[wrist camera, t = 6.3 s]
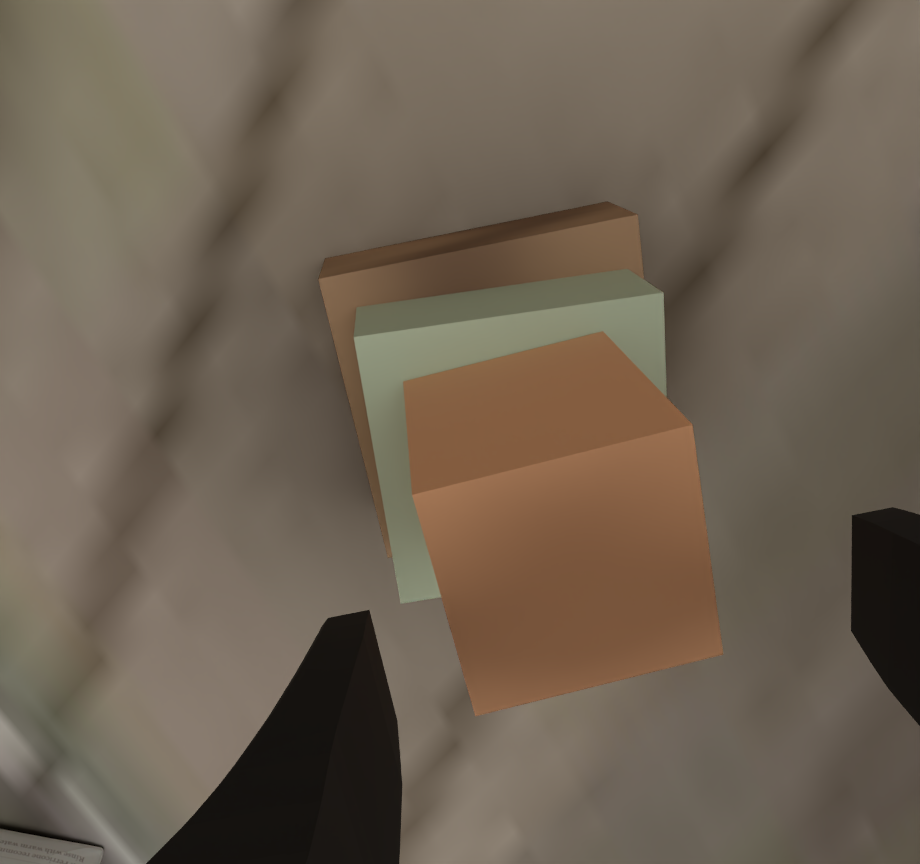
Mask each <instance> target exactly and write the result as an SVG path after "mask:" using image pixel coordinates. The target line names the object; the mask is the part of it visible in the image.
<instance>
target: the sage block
mask: <svg viewBox="0 0 920 864" xmlns="http://www.w3.org/2000/svg"><path fill="white" fill-rule="evenodd" d="M602 331H603V332H604V333H605V334H606V335H607V336H608V337H609V338H610V339H611V340H612V341H613V342H614V343H615V344H616V345H617V346H618V347H619V348H620V349H621V350H622V351H623V353H624V354H625V355H626V356H627V357H628V358H629V359H630V360H631V361H632V362H633V363H634V364H635V365H636V366H637V367H638V368H639V369H640V370H641V371H642V372H643V373H644V374H645V376H646V377H647V378H648V379H649V380H650V381H651V382H652V383H653V384H654V385H655V386H656V387H657V388H658V389H659V390H660V391H661V392H662V393H663V394H664V395H665V396H666V397H667V390H666V358H665V325H664V293H663V292H662V291H660V290H659V289H657V288H656V287H654V286H653V285H651V284H650V283H648V282H647V281H645V280H644V279H642V278H641V277H639V276H638V275H636V274H635V273H633V272H632V271H630V270H628V269H622V270H615V271H608V272H601V273H594V274H587V275H580V276H573V277H566V278H559V279H552V280H545V281H538V282H531V283H524V284H516V285H509V286H502V287H495V288H488V289H481V290H474V291H467V292H460V293H453V294H446V295H439V296H432V297H425V298H418V299H411V300H404V301H397V302H390V303H383V304H376V305H369V306H362V307H357V309H356V319H355V329H354V342H355V348H356V353H357V359H358V365H359V370H360V376H361V382H362V387H363V393H364V399H365V404H366V410H367V416H368V421H369V427H370V433H371V438H372V444H373V450H374V455H375V461H376V467H377V472H378V478H379V484H380V489H381V495H382V501H383V506H384V512H385V517H386V523H387V529H388V534H389V540H390V546H391V551H392V557H393V563H394V568H395V574H396V580H397V585H398V591H399V597H400V602H401V604H402V603H408V602H415V601H421V600H428V599H434V598H440V597H441V594H440V591H439V587H438V584H437V580H436V577H435V573H434V570H433V566H432V563H431V559H430V556H429V552H428V549H427V545H426V542H425V538H424V535H423V531H422V528H421V524H420V521H419V517H418V514H417V511H416V507H415V504H414V500H413V497H412V488H411V476H410V463H409V450H408V438H407V425H406V412H405V400H404V387H403V381H407V380H411V379H415V378H419V377H423V376H427V375H431V374H435V373H439V372H443V371H447V370H451V369H455V368H459V367H463V366H467V365H471V364H474V363H478V362H482V361H486V360H490V359H494V358H498V357H502V356H506V355H510V354H514V353H518V352H522V351H526V350H530V349H534V348H538V347H542V346H546V345H550V344H554V343H558V342H562V341H566V340H570V339H574V338H578V337H582V336H586V335H590V334H594V333H598V332H602Z"/></svg>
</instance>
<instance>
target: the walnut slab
mask: <svg viewBox="0 0 920 864" xmlns="http://www.w3.org/2000/svg"><path fill="white" fill-rule="evenodd" d="M622 269H628V270H630V271H632V272H633V273H635V274H636V275H638V276H639V277H641V278H642V279H644V273H643V263H642V253H641V243H640V233H639V223H638V214H635V213H633V212H631V211H628V210H626V209H624V208H621V207H619V206H617V205H614V204H612V203H610V202H603V203H598V204H593V205H588V206H583V207H578V208H573V209H568V210H563V211H558V212H553V213H548V214H543V215H539V216H534V217H529V218H524V219H519V220H514V221H509V222H504V223H499V224H494V225H489V226H484V227H479V228H474V229H469V230H464V231H459V232H454V233H449V234H444V235H439V236H434V237H429V238H424V239H419V240H414V241H409V242H404V243H399V244H394V245H390V246H385V247H380V248H375V249H370V250H365V251H360V252H355V253H350V254H345V255H340V256H335V257H330V258H325V261H324V264H323V267H322V270H321V273H320V275H319V278H318V280H319V284H320V288H321V292H322V296H323V300H324V304H325V308H326V312H327V316H328V320H329V324H330V328H331V332H332V336H333V340H334V344H335V348H336V352H337V356H338V360H339V364H340V368H341V372H342V376H343V380H344V384H345V388H346V392H347V396H348V400H349V404H350V408H351V412H352V416H353V420H354V424H355V428H356V432H357V436H358V440H359V444H360V448H361V452H362V456H363V460H364V464H365V468H366V472H367V476H368V480H369V484H370V488H371V492H372V496H373V500H374V504H375V508H376V512H377V516H378V520H379V524H380V528H381V532H382V536H383V540H384V544H385V548H386V552H387V556H388V558H390V557H392V551H391V546H390V540H389V534H388V529H387V523H386V517H385V512H384V506H383V501H382V495H381V489H380V484H379V478H378V472H377V467H376V461H375V455H374V450H373V444H372V438H371V433H370V427H369V421H368V416H367V410H366V404H365V399H364V393H363V387H362V382H361V376H360V370H359V365H358V359H357V353H356V348H355V342H354V329H355V319H356V309H357V307H362V306H369V305H376V304H383V303H390V302H397V301H404V300H411V299H418V298H425V297H432V296H439V295H446V294H453V293H460V292H467V291H474V290H481V289H488V288H495V287H502V286H509V285H516V284H524V283H531V282H538V281H545V280H552V279H559V278H566V277H573V276H580V275H587V274H594V273H601V272H608V271H615V270H622Z"/></svg>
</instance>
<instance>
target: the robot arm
mask: <svg viewBox="0 0 920 864" xmlns="http://www.w3.org/2000/svg"><path fill="white" fill-rule="evenodd" d="M851 631H852V633H853V634H854V636H855V638H856V639H857V641H858V643H859V644H860V646H861V647H862V649H863V651H864V652H865V654H866V655H867V657H868V659H869V660H870V662H871V663H872V665H873V666H874V668H875V669H876V671H877V672H878V674H879V675H880V677H881V678H882V680H883V681H884V683H885V684H886V686H887V687H888V689H889V690H890V691H891V692H892V693H893V695H894V696H895V697H896V698H897V700H898V701H899V702H900V703H901V704H902V706H903V707H904V708H905V709H906V710H907V711H908V713H909V714H910V715H911V716H912V717H913V719H914V720H915V721H916V722H917V723H918V724H919V726H920V515H918V514H915V513H912V512H908V511H905V510H901V509H897V508H893V507H892V508H887V509H882V510H877V511H872V512H867V513H862V514H857V515H852V592H851ZM401 805H402V776H401V762H400V749H399V737H398V725H397V718H396V714H395V710H394V706H393V702H392V698H391V694H390V690H389V686H388V682H387V678H386V674H385V671H384V667H383V663H382V659H381V655H380V651H379V647H378V643H377V639H376V635H375V631H374V627H373V623H372V619H371V615H370V611H369V610H367V611H361V612H356V613H351V614H346V615H341V616H336V617H331V618H328V619H327V620H326V622H325V623H324V624H323V626H322V627H321V629H320V631H319V633H318V635H317V636H316V638H315V640H314V642H313V644H312V645H311V647H310V649H309V651H308V652H307V654H306V656H305V658H304V660H303V661H302V663H301V665H300V666H299V668H298V670H297V672H296V673H295V675H294V677H293V678H292V680H291V682H290V683H289V685H288V687H287V688H286V690H285V691H284V693H283V695H282V696H281V698H280V699H279V701H278V703H277V704H276V706H275V707H274V709H273V710H272V712H271V714H270V715H269V717H268V718H267V720H266V721H265V723H264V724H263V726H262V727H261V729H260V730H259V731H258V733H257V734H256V736H255V737H254V738H253V740H252V741H251V743H250V744H249V745H248V747H247V748H246V750H245V751H244V753H243V754H242V755H241V757H240V758H239V760H238V761H237V762H236V764H235V765H234V766H233V768H232V769H231V770H230V772H229V773H228V774H227V776H226V777H225V778H224V779H223V781H222V782H221V783H220V784H219V786H218V787H217V788H216V789H215V791H214V792H213V793H212V794H211V795H210V796H209V798H208V799H207V800H206V801H205V802H204V803H203V805H202V806H201V807H200V808H199V809H198V810H197V812H196V813H195V814H194V815H193V816H192V817H191V818H190V819H189V821H188V822H187V823H186V824H185V825H184V826H183V827H182V828H181V829H180V830H179V831H178V832H177V833H176V834H175V835H174V836H173V837H172V838H171V839H170V840H169V841H168V842H167V843H166V844H165V845H164V846H163V847H162V848H161V849H160V850H159V851H158V852H157V853H156V854H155V855H154V856H153V857H152V858H151V859H150V860H149V861H148V862H147V863H146V864H399V855H400V831H401Z"/></svg>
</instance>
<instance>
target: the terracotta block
mask: <svg viewBox="0 0 920 864" xmlns="http://www.w3.org/2000/svg"><path fill="white" fill-rule="evenodd" d="M403 387H404V400H405V412H406V425H407V438H408V450H409V463H410V476H411V488H412V497H413V500H414V504H415V507H416V511H417V514H418V517H419V521H420V524H421V528H422V531H423V535H424V538H425V542H426V545H427V549H428V552H429V556H430V559H431V563H432V566H433V570H434V573H435V577H436V580H437V584H438V587H439V591H440V594H441V598H442V601H443V605H444V608H445V612H446V615H447V619H448V622H449V626H450V629H451V632H452V636H453V639H454V643H455V646H456V650H457V653H458V657H459V660H460V664H461V667H462V671H463V674H464V678H465V681H466V685H467V688H468V692H469V695H470V699H471V702H472V706H473V709H474V713H475V716H478V715H482V714H486V713H490V712H494V711H498V710H502V709H506V708H510V707H514V706H518V705H522V704H526V703H530V702H534V701H538V700H542V699H546V698H550V697H554V696H558V695H562V694H566V693H570V692H574V691H579V690H583V689H587V688H591V687H595V686H599V685H603V684H607V683H611V682H615V681H619V680H623V679H627V678H631V677H635V676H639V675H643V674H647V673H651V672H655V671H659V670H663V669H667V668H671V667H675V666H679V665H683V664H687V663H691V662H695V661H699V660H703V659H707V658H711V657H715V656H719V655H723V649H722V641H721V634H720V626H719V619H718V611H717V604H716V596H715V589H714V582H713V574H712V567H711V559H710V552H709V544H708V537H707V529H706V522H705V514H704V507H703V499H702V492H701V484H700V477H699V469H698V462H697V454H696V447H695V440H694V432H693V425H692V424H691V423H690V422H689V420H688V419H687V418H686V417H685V416H684V415H683V414H682V413H681V412H680V411H679V410H678V409H677V408H676V407H675V406H674V405H673V404H672V403H671V402H670V401H669V400H668V399H667V397H666V396H665V395H664V394H663V393H662V392H661V391H660V390H659V389H658V388H657V387H656V386H655V385H654V384H653V383H652V382H651V381H650V380H649V379H648V378H647V377H646V376H645V374H644V373H643V372H642V371H641V370H640V369H639V368H638V367H637V366H636V365H635V364H634V363H633V362H632V361H631V360H630V359H629V358H628V357H627V356H626V355H625V354H624V353H623V351H622V350H621V349H620V348H619V347H618V346H617V345H616V344H615V343H614V342H613V341H612V340H611V339H610V338H609V337H608V336H607V335H606V334H605V333H604V332H603V331H602V332H598V333H594V334H590V335H586V336H582V337H578V338H574V339H570V340H566V341H562V342H558V343H554V344H550V345H546V346H542V347H538V348H534V349H530V350H526V351H522V352H518V353H514V354H510V355H506V356H502V357H498V358H494V359H490V360H486V361H482V362H478V363H474V364H471V365H467V366H463V367H459V368H455V369H451V370H447V371H443V372H439V373H435V374H431V375H427V376H423V377H419V378H415V379H411V380H407V381H403Z"/></svg>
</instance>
